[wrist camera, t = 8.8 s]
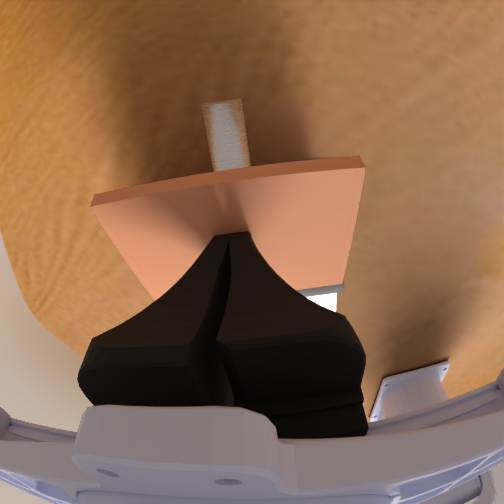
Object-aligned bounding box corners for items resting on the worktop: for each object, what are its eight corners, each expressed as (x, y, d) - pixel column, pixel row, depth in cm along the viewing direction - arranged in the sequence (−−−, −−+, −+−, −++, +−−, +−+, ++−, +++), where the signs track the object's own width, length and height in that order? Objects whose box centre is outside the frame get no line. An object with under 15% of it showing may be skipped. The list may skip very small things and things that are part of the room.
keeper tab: (338, 279, 16) (342, 295, 15) (163, 300, 16) (162, 315, 16) (361, 153, 10) (370, 170, 9) (93, 192, 10) (86, 210, 10)
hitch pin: (289, 340, 23) (295, 383, 20) (236, 346, 23) (235, 389, 20) (264, 93, 14) (270, 100, 11) (183, 106, 14) (165, 117, 11)
